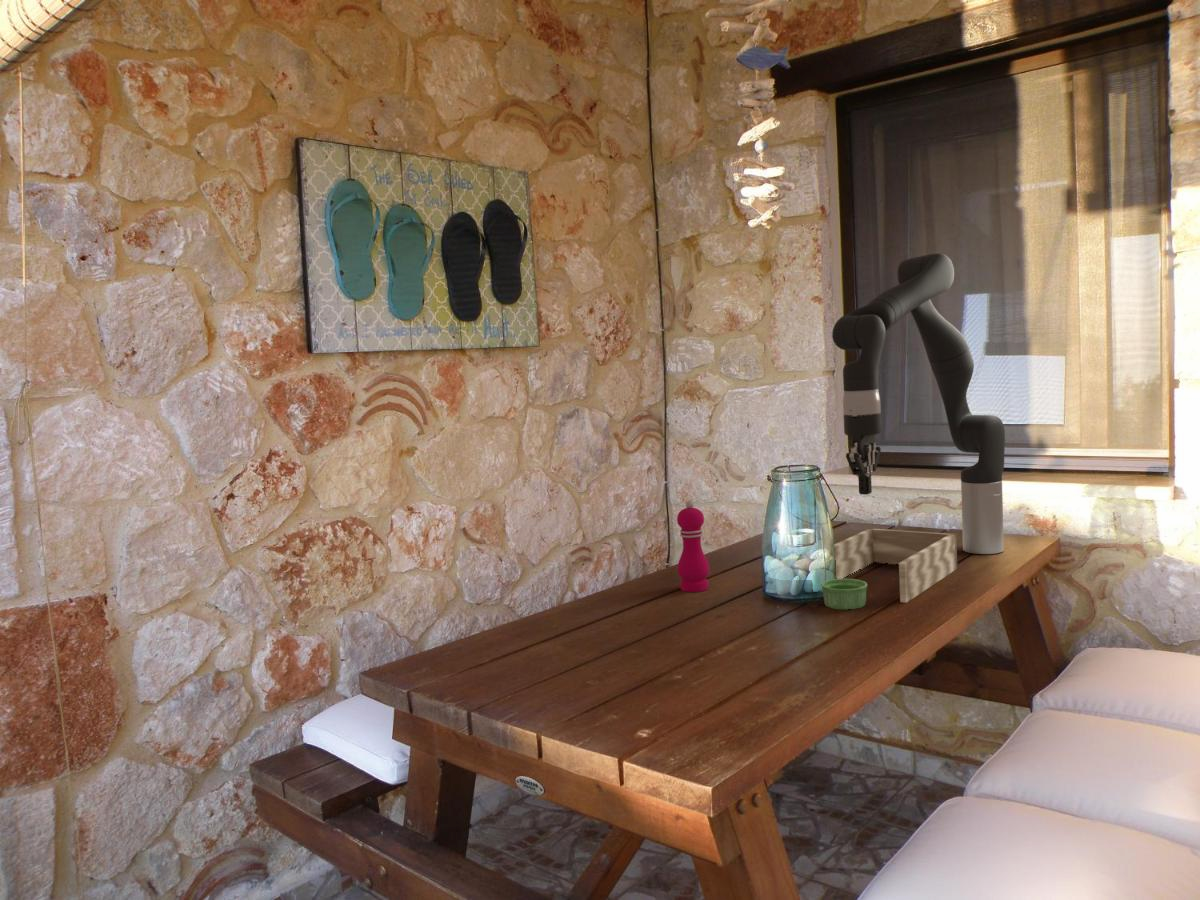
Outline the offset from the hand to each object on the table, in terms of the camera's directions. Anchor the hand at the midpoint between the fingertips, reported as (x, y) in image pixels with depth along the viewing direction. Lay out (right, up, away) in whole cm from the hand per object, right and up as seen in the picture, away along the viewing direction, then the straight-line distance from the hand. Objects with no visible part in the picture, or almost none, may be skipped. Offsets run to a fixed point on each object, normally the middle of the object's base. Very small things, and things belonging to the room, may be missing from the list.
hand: (865, 493), depth 191 cm
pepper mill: (-35, -22, +13) cm, 43 cm away
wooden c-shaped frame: (+8, -19, +10) cm, 23 cm away
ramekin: (-6, -22, -7) cm, 24 cm away
